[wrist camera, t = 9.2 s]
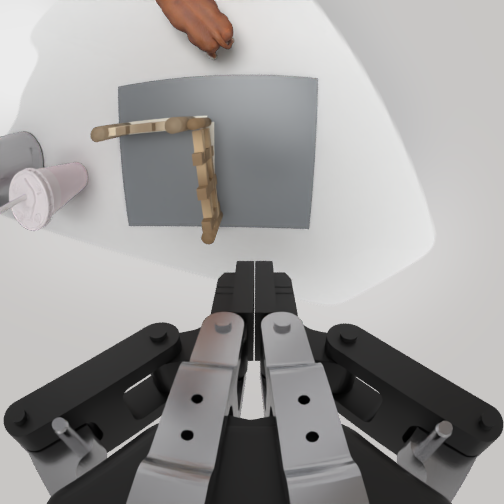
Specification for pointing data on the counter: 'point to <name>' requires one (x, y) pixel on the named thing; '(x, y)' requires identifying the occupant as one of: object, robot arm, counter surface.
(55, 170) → the smoothie
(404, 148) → the counter surface
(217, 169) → the card
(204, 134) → the fence panel
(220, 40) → the bull figurine
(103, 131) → the fixed fence
